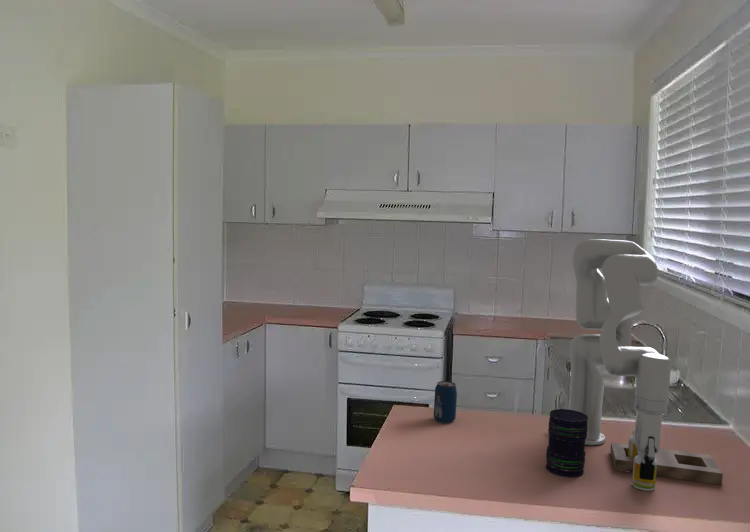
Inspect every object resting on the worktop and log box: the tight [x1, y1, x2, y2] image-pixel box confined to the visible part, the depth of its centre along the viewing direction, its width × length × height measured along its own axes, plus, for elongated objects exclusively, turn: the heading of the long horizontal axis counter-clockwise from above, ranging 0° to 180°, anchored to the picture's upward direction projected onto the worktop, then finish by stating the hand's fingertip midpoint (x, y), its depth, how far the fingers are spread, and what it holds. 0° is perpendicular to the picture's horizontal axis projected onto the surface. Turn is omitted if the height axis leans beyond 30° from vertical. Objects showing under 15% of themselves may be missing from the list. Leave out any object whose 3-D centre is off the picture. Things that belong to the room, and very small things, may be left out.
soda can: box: [433, 380, 458, 425], centre depth 210 cm, size 7×7×12 cm
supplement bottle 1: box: [628, 427, 638, 458], centre depth 182 cm, size 5×5×10 cm
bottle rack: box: [609, 442, 724, 486], centre depth 180 cm, size 26×13×3 cm, turn 76°
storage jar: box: [545, 408, 588, 479], centre depth 175 cm, size 10×10×15 cm
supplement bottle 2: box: [631, 448, 657, 492], centre depth 167 cm, size 5×5×10 cm
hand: (644, 473), depth 167 cm, fingers closed on supplement bottle 2, 5 cm apart
